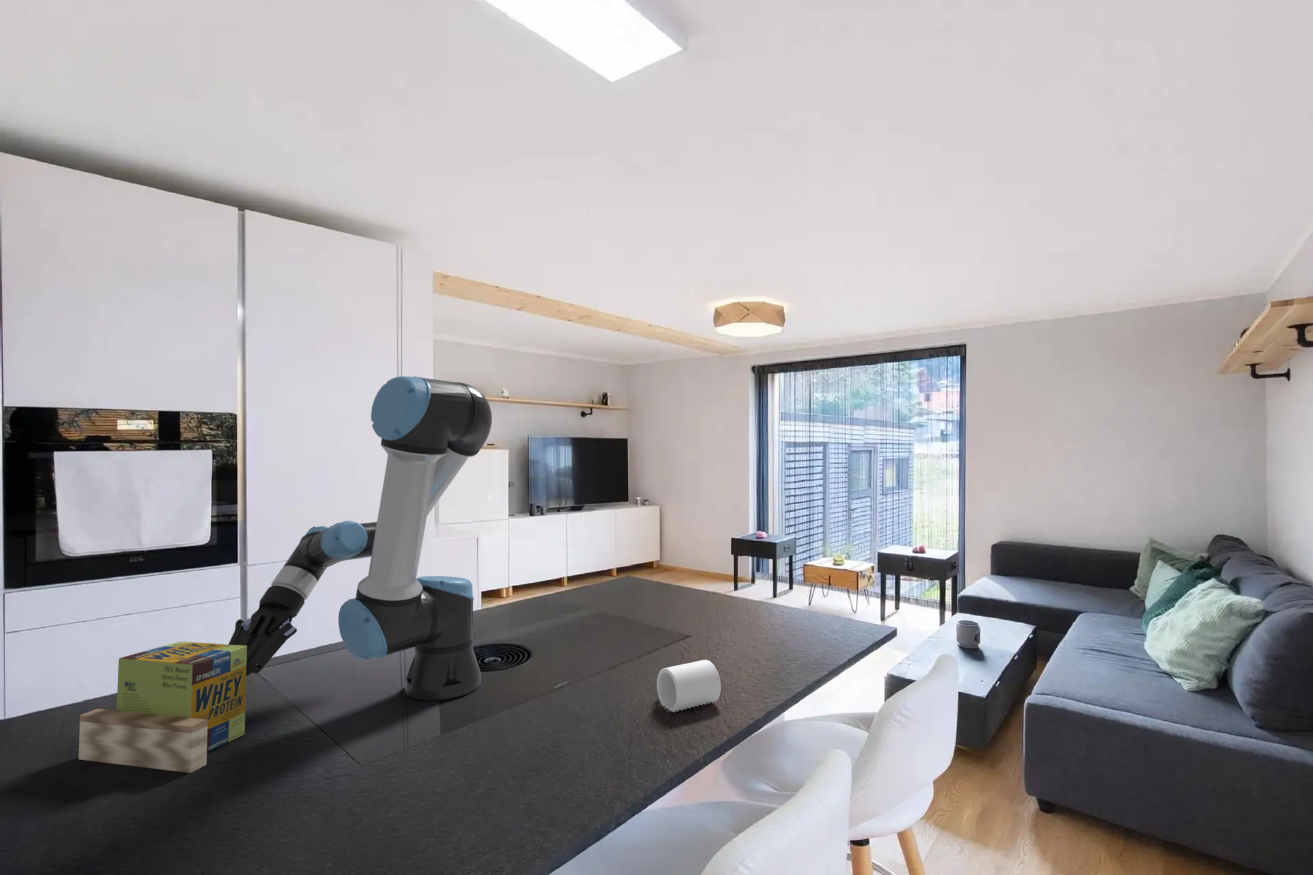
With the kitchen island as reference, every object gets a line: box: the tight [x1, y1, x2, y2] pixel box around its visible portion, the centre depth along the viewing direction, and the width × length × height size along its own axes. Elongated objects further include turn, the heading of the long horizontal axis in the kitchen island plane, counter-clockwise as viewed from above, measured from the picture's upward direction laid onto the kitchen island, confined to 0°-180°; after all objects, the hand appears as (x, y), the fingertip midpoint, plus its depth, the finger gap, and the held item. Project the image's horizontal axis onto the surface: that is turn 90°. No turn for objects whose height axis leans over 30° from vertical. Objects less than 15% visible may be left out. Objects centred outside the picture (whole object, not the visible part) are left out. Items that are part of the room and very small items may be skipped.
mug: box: [656, 659, 722, 713], centre depth 120 cm, size 12×10×8 cm
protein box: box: [116, 641, 247, 753], centre depth 103 cm, size 10×15×16 cm
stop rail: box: [78, 708, 208, 774], centre depth 97 cm, size 22×3×7 cm, turn 78°
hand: (213, 707), depth 109 cm, fingers closed
